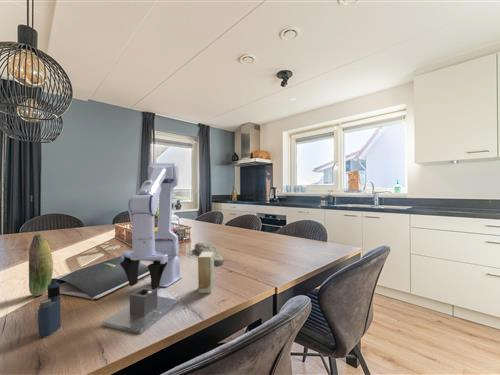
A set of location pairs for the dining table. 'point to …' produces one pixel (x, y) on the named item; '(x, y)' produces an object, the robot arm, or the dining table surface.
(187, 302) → the dining table surface
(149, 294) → the hollow square box
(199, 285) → the skincare box
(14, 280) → the dining table surface
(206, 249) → the elongated rock
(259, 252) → the dining table surface
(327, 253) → the dining table surface
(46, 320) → the vaping device
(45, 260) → the vegetable
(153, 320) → the shaft plate
